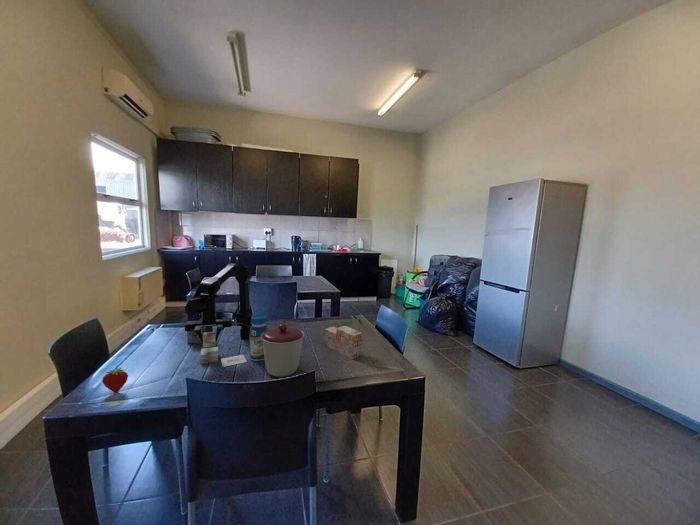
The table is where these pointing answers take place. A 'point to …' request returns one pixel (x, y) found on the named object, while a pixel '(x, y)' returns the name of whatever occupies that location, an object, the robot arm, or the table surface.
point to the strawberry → (115, 379)
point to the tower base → (209, 355)
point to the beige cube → (209, 339)
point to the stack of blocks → (344, 340)
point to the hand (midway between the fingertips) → (209, 342)
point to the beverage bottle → (257, 337)
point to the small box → (193, 336)
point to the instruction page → (233, 360)
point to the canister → (282, 349)
